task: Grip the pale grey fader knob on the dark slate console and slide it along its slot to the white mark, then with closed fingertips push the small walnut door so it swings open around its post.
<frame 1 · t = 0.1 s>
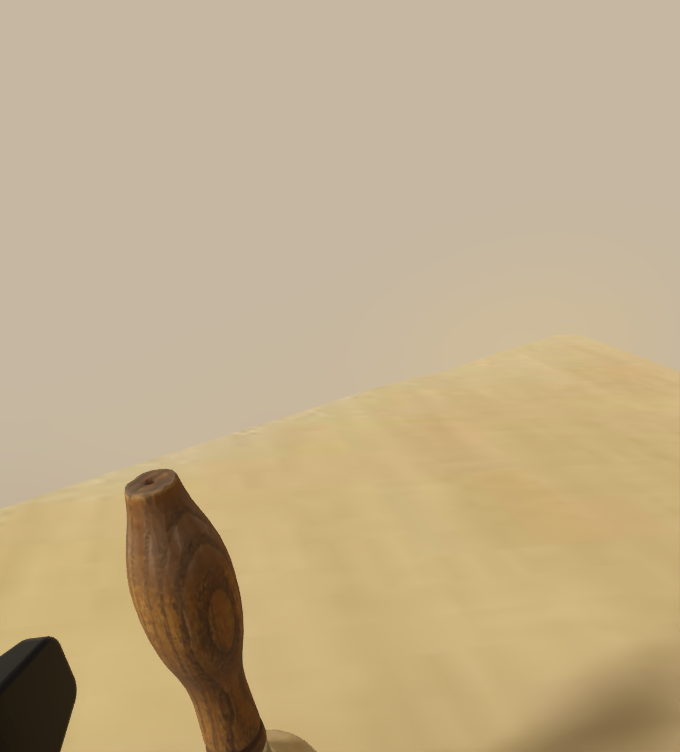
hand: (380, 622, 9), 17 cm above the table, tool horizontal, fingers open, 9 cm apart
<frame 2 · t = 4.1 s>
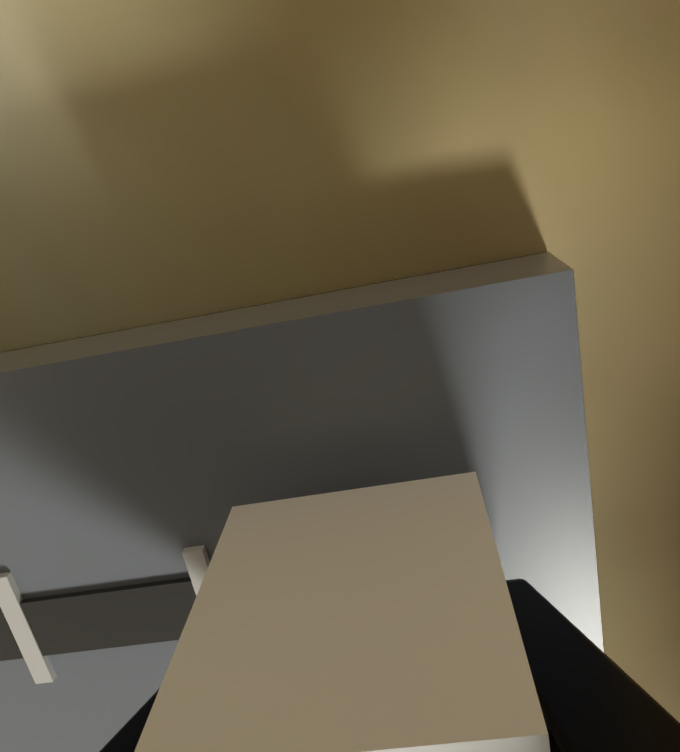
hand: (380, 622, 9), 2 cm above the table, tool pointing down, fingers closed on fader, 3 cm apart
fader: (379, 723, 7), point 4 cm above the table, slide at 0.0 cm, touching gripper
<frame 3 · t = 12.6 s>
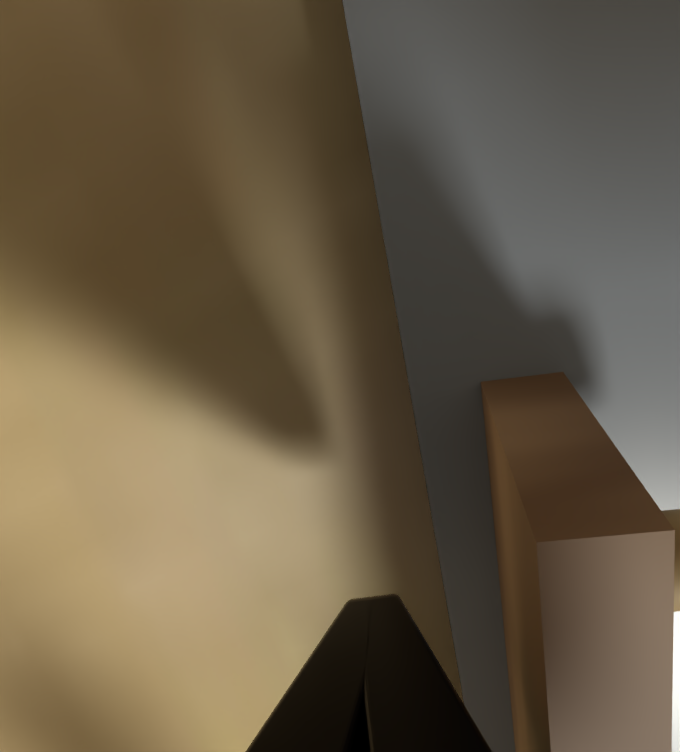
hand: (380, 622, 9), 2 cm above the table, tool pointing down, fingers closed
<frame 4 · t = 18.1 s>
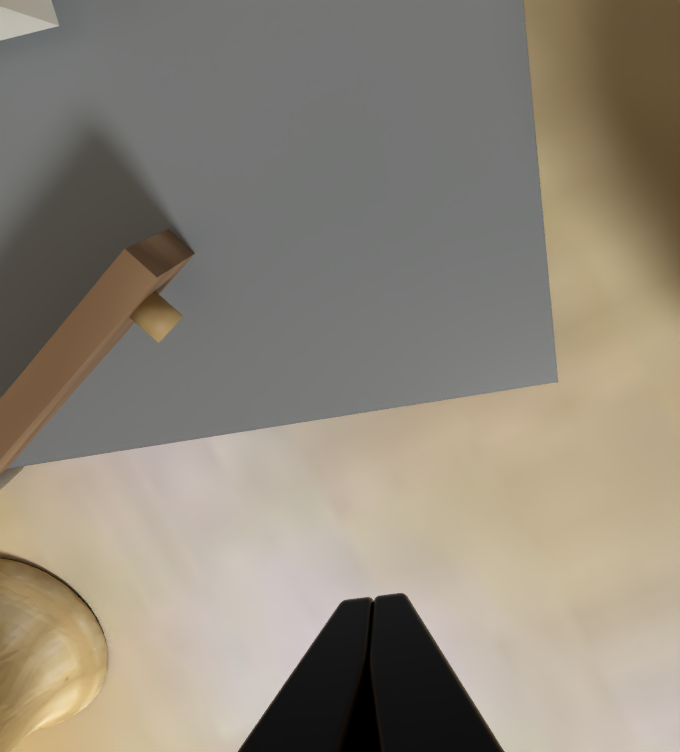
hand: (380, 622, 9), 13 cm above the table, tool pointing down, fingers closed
door: (70, 387, 19), point 3 cm above the table, hinge at 55.1°, touching console
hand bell: (10, 638, 26), on the table
console: (171, 138, 19), on the table
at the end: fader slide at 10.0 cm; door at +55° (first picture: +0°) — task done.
